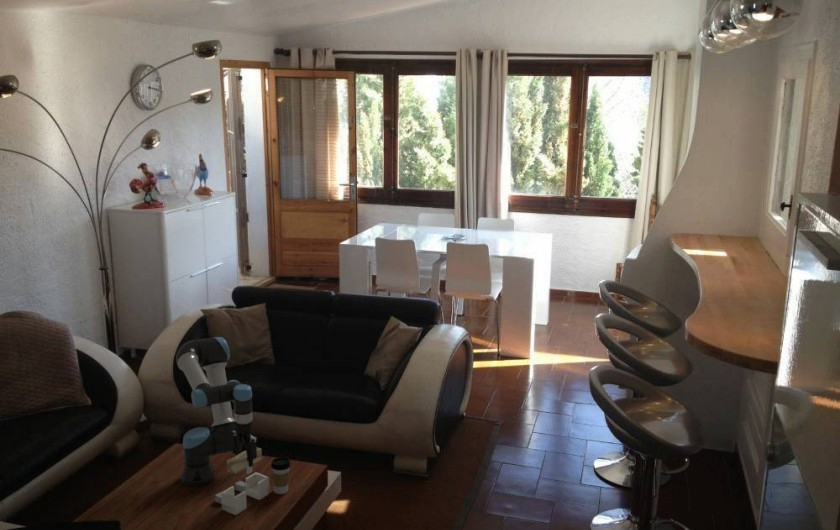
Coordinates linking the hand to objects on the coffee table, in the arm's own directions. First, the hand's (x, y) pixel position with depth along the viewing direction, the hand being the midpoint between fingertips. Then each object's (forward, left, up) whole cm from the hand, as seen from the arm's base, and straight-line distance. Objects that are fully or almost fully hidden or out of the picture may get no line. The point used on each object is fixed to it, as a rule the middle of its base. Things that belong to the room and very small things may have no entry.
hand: (245, 470), depth 322 cm
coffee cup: (+7, +15, -15) cm, 22 cm away
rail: (0, 0, +3) cm, 3 cm away
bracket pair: (0, 0, -15) cm, 15 cm away
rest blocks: (-8, 0, -15) cm, 17 cm away
